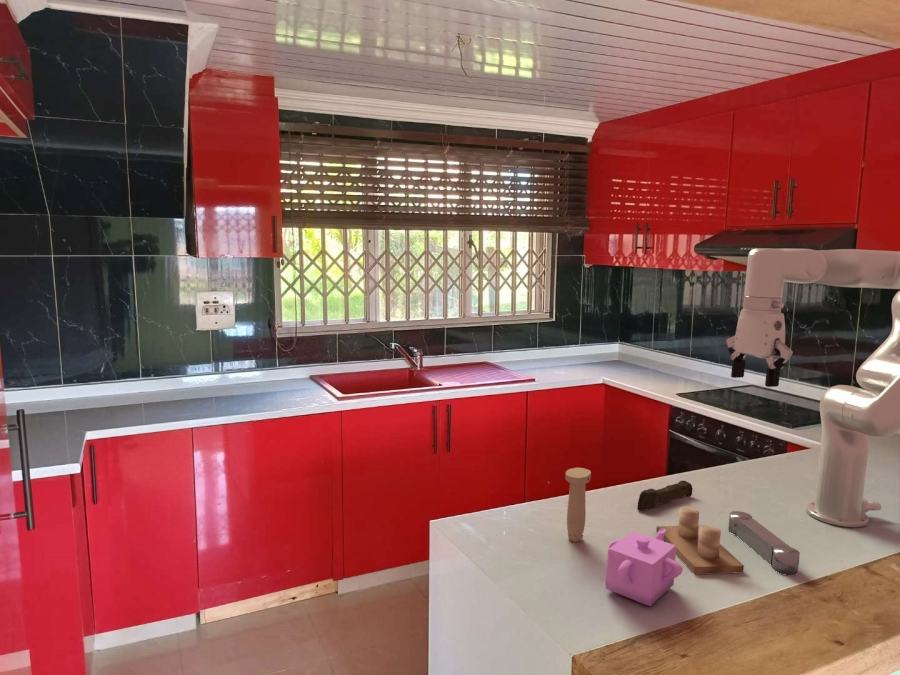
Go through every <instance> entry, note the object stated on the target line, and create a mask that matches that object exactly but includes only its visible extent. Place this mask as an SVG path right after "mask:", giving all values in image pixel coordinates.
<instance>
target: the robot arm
mask: <svg viewBox="0 0 900 675" xmlns="http://www.w3.org/2000/svg"><path fill="white" fill-rule="evenodd" d="M746 264H747V265H746V272H745V273H746V276H745V283H744V294H743V295H744V296H743V303H742V309H741V310H740V313H739V316H738V320H737V325H736V330H735V335H732V336H731V337H728V338H726V340H725V341H726V344H727V348H728V349H727V350H728V353H729V355H730V359H731V360H732V361H731V362H732V365H731V372H730V373H731V374H730V377H731V378H734V379H735V378H736V379H738V378H744V376H745V369H746V359H745V358H746V356H751V357H756V358H760V359H765V360H766V363H767V365H768V368H767V369H766V374H765V375H766V376H765V384H764V385H765V387H767V388H775V387H779V385H780V376H781V370H782V369H784V366H785V365H787V363H789V360H790V359H791V357H792V355H793V350H792V349H791V348H790V347H788V345H786V321H785V314H784V313H783V312H782V309H784V306H785V303H784V302H783V294H784V283H792V284H799V285H800V284H801V285H803V284H804V285H805V284H812V283H813V284H820V285H827V286H831V287H832V286H833V287H840V288H841V287H842V288H863V289H864V288H866V289H867V288H869V289H886V290H887V289H888V290H890V289H891V290H898V291H897V292H896V293H895V295H894V296H893V298H892V302H891V315H892V318H891V319H892V328H891V331H890V333H889V335H888V337H887V338H886V339H885V340H884V341H883V343H881V344H880V345H879V347H877V348H876V350H874V351H873V353H872V354H870V355H869V356H868V357H867V359H866V360H865V361H863V362H862V364H861V365H860V366H859V368H858V369H857V371H856V374H855V377H856V382H857V383H858V385H859V386H860V387H861V388H860V387H857V386H853V385H845V384H837V385H834V386H831V387H829V388H828V389H826V390H825V391H824V392H823V393H822V395H821V396H820V401H819V413H820V423H821V441H820V450H819V456H818V469H817V478H816V487H815V496H814V497H815V498H814V501H813V502H810V503H808V504H807V505H806V512H807V514H808V515H810V516H811V517H812V518H814V519H816V520H818V521H821V522H824V523H826V524H830V525H833V526H838V527H843V528H844V527H845V528H861V527H865V526H867V525H868V524H869V515H868V514H866V513H868V512H869V511H873V512H874V511H876V512H877V511H881V510H882V505H881V503H880V502H877V501H875V502H871V501H870V502H868V500H867V499H865V498H864V494H865V493H864V492H865V484H866V475H867V474H866V473H867V468H868V467H867V466H868V458H869V442H868V441H869V440H868V436H869V437H873V438H876V439H886V438H889V437H892V436H894V435H895V434H897V433H898V432H900V251H899V250H898V251H897V250H896V251H894V250H876V249H875V250H874V249H859V248H858V249H857V248H847V249H846V248H843V249H842V248H839V249H822V250H819V249H817V250H816V249H811V248H789V247H787V248H765V247H763V248H762V247H760V248H759V247H758V248H757V247H756V248H753V249H751V250H750V251H749V252H748V254H747V262H746Z"/></svg>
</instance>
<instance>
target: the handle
mask: <svg viewBox="0 0 900 675" xmlns="http://www.w3.org/2000/svg"><path fill="white" fill-rule="evenodd" d="M591 474H592V472H591V470H589V469H587V468H584V467H573V468H569V469H567V470H566V471H565V480H566V482H568V483H569V493H568V502H567V509H566V529H567V538H568V540H569V541H572V542H575V543H577V542H582V541H583V539H584V537H583V536H584V535H583V534H584V532H585V527H586V525H585V524H586V510H587V509H586V484H588V483H590V480H591V478H592V476H591Z"/></svg>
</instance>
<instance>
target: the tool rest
mask: <svg viewBox="0 0 900 675" xmlns="http://www.w3.org/2000/svg"><path fill="white" fill-rule="evenodd" d="M699 522H700V511H699V510H698V509H697V508H694V507H690V506H682V507H680V508H679V511H678V525H670V526H669V525H660V526H659V525H658V526H656V528H655V530H656V532H657V533H658V531H659V530H660V529H666V532H665V534H664V537H663V540H664V541H665V542H667V543H670V544H673V545H676V556H677V557H678V558H679V560H680V561H681V562H682V561H683V562H684V563H685V564H686V565H687V566H686V565H685V564H684V563H683V562H682V563H683V564H684V565H685V566H686V567H687V568H688V567H689V568H688V569H689V570H690V571H691V573H692V574H693V573H694V574H693V575H696V574H695V573H717V574H734V573H733V572H743V573H744V566H745V565H744V564H743V563H742V562H741V561H739V559H738V558H737V557H735V556H734V555H733V554H732V553H731V552H730V551H729V550H727V549H726V547H724V546H723V545H722V544H721V534H722V532H721V529H720V528H719V527H717V526H714V525H711V524H710V525H709V524H703V525H701V524H699ZM656 532H655V533H656ZM657 533H656V534H657Z"/></svg>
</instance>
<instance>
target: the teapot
mask: <svg viewBox="0 0 900 675" xmlns="http://www.w3.org/2000/svg"><path fill="white" fill-rule="evenodd" d="M665 532H666V529H660V530H659V531H658V533H656V535H655V537H652V536H649V535H646V534H642V533H640V532H636V531H631V532H630V533H628V534H627V535H626V536H624V537H623V538H621V539H615V540H613V541H611V542H610V543H609V546H608V549H607V560H606V576H605V577H606V579H605V589H606V590H607V591H610V592H612V593H616V594H617V595H620V596H622V597H625V598H629V599H630V600H632V601H635V602H638V603H640V604H643V605H645V606H648V607H652V605H653V604H655V603H656V602H657V601H658V600H659V599H660V598H661V597H662V596H663V595H665V593H667V591H669V590H670V588H672V587H673V586H674V585H675V579H677V578H678V577H679V576H680V575H682V573H683V571H684V569H683V566H682V565H681V564H680V563H679V562H678V561H676V558H677V557H676V556H677V555H676V545H673V544H670V543H667V542H664V541H663V537H664V534H665Z"/></svg>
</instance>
